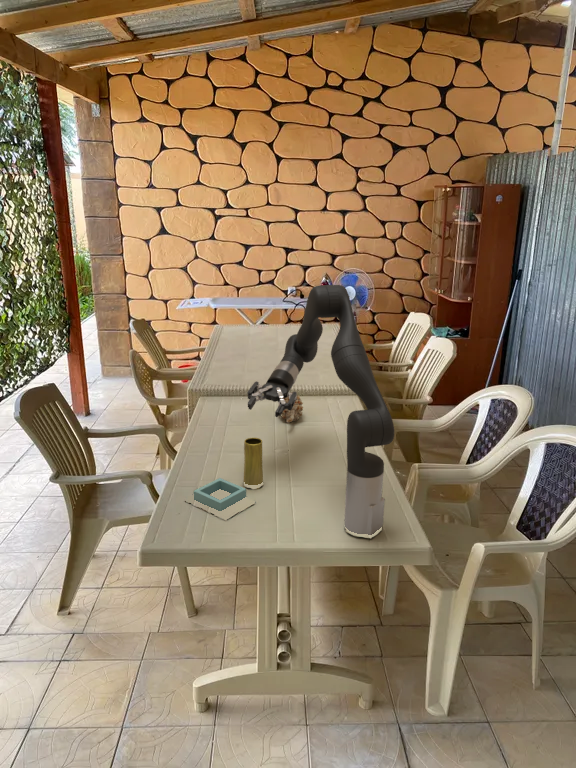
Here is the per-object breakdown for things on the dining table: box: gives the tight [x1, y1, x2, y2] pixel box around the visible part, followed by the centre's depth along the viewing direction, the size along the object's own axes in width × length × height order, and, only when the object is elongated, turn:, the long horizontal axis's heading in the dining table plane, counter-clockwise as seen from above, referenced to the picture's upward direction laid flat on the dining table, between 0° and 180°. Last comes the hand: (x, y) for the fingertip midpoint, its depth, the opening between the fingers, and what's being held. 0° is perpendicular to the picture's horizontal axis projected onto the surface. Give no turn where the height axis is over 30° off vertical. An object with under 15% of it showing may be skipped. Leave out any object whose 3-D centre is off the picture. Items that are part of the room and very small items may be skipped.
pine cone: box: [280, 391, 304, 423], centre depth 229 cm, size 22×10×10 cm, turn 3°
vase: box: [243, 437, 264, 485], centre depth 181 cm, size 6×6×14 cm
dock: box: [193, 477, 247, 511], centre depth 172 cm, size 16×12×4 cm
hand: (262, 411), depth 180 cm, fingers open, 8 cm apart
